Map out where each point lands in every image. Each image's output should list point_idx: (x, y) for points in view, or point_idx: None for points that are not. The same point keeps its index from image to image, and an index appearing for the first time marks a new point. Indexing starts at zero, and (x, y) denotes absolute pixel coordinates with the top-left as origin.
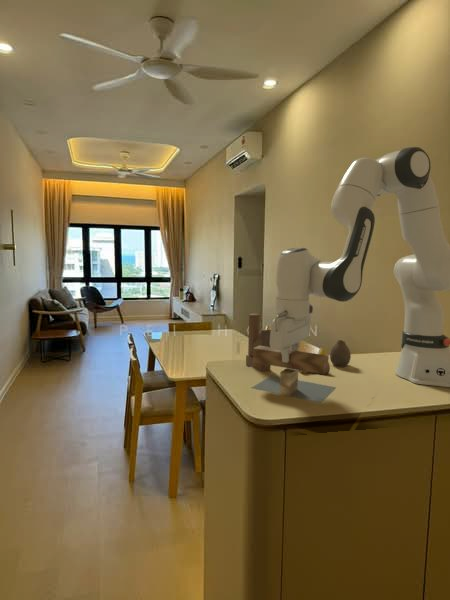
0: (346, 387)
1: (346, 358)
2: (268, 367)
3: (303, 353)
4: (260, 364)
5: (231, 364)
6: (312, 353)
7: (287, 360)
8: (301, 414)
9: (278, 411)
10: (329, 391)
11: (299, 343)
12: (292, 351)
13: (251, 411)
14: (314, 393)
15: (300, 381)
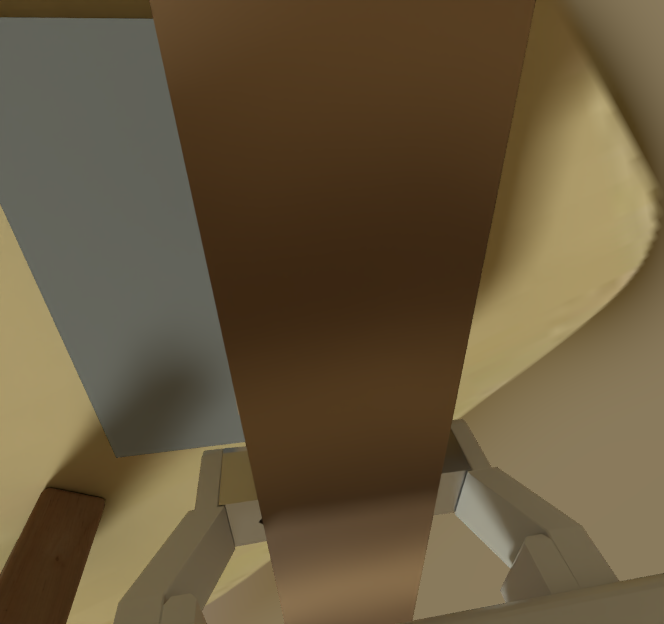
0: None
1: None
2: (49, 516)
3: (334, 418)
4: (89, 548)
5: (105, 601)
6: (242, 338)
7: (471, 434)
8: (567, 91)
9: (558, 216)
10: (89, 42)
11: (135, 621)
12: (320, 519)
13: (587, 306)
14: None
15: (70, 313)
